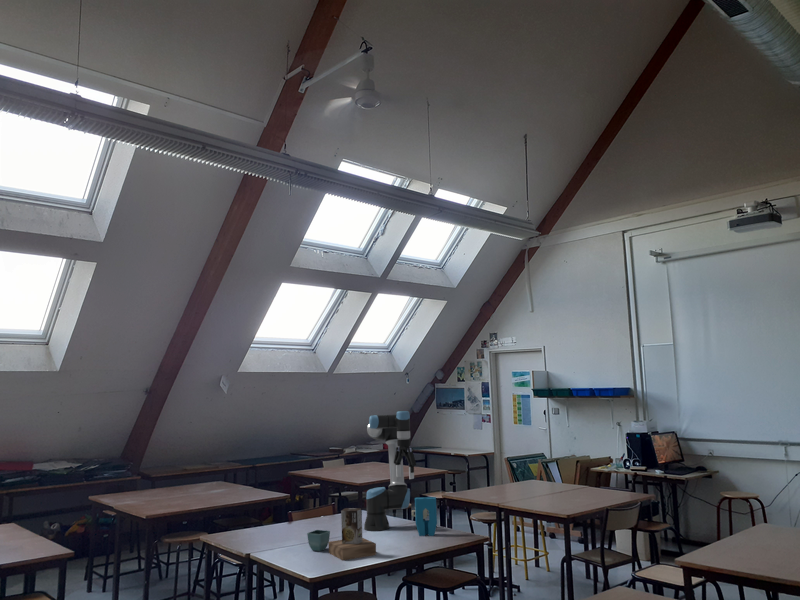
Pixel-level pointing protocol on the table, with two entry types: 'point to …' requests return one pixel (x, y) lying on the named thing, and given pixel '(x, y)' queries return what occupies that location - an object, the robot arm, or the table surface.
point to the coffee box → (351, 525)
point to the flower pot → (318, 539)
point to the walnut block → (352, 549)
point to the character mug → (423, 514)
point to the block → (429, 525)
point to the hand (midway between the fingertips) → (405, 477)
